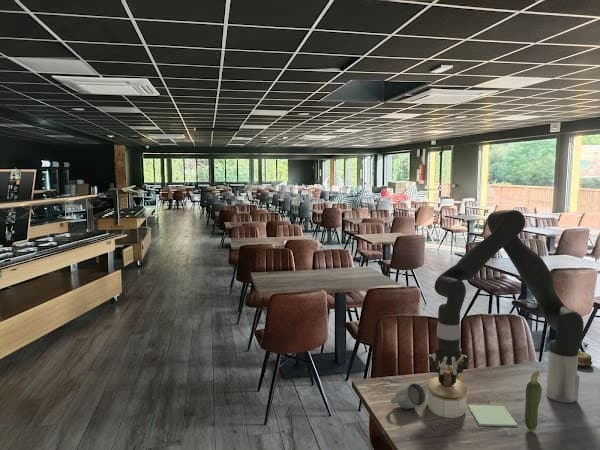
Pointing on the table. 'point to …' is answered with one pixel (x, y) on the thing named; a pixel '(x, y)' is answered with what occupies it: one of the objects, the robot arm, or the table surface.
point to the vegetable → (532, 402)
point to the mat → (492, 415)
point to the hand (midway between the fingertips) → (446, 383)
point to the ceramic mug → (410, 396)
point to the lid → (447, 386)
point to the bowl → (446, 405)
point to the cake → (584, 359)
